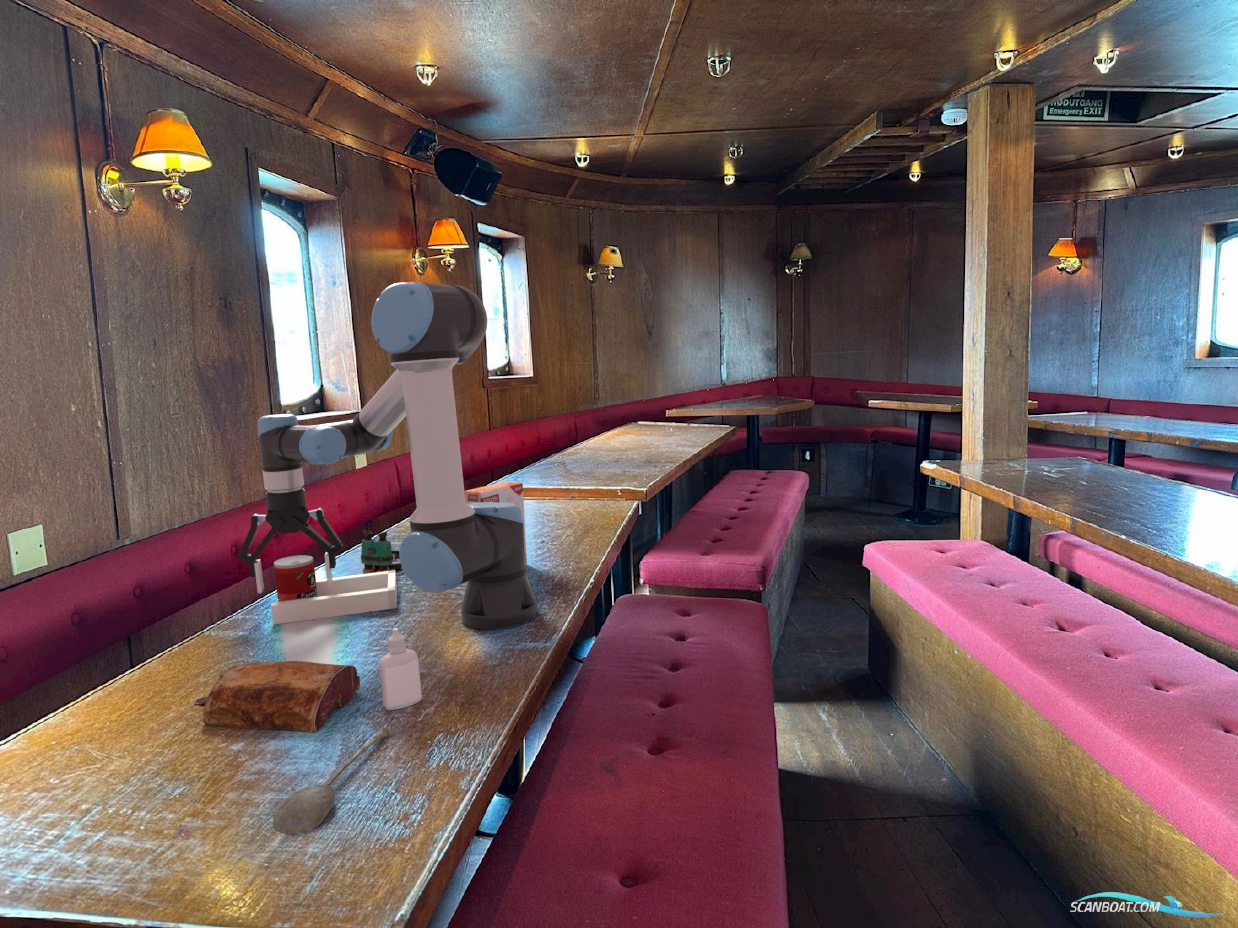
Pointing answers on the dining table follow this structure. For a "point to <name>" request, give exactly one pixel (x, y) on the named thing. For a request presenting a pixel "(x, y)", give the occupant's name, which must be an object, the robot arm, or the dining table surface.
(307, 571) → the canned food
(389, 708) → the eye dropper bottle
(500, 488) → the cracker box
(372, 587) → the white rectangular tray
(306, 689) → the cured meat
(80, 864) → the dining table surface
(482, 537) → the robot arm
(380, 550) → the binoculars
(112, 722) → the dining table surface
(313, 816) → the soupspoon
